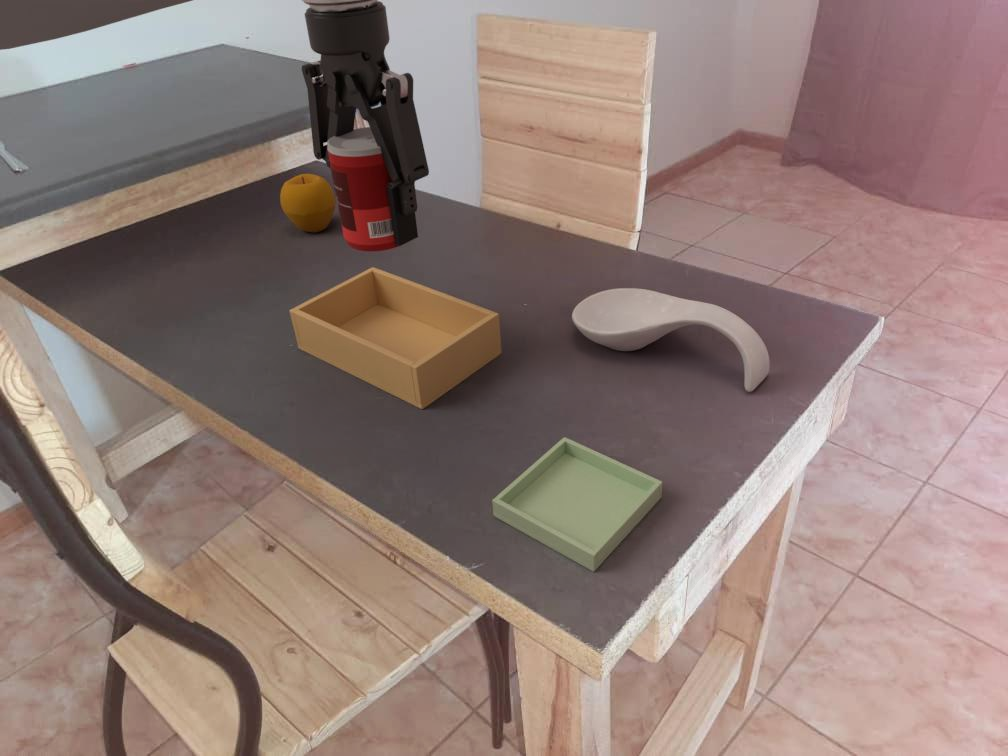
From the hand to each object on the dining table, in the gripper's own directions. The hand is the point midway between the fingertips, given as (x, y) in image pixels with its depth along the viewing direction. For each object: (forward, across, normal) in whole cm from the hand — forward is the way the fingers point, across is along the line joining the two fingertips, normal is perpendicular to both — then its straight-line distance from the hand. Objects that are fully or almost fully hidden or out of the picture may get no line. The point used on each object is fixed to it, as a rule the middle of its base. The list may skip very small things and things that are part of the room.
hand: (379, 231), depth 85 cm
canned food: (+1, 0, 0) cm, 1 cm away
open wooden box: (+16, +1, 0) cm, 16 cm away
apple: (+16, +39, -19) cm, 46 cm away
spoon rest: (+16, -26, -18) cm, 36 cm away
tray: (+16, -32, +8) cm, 37 cm away
